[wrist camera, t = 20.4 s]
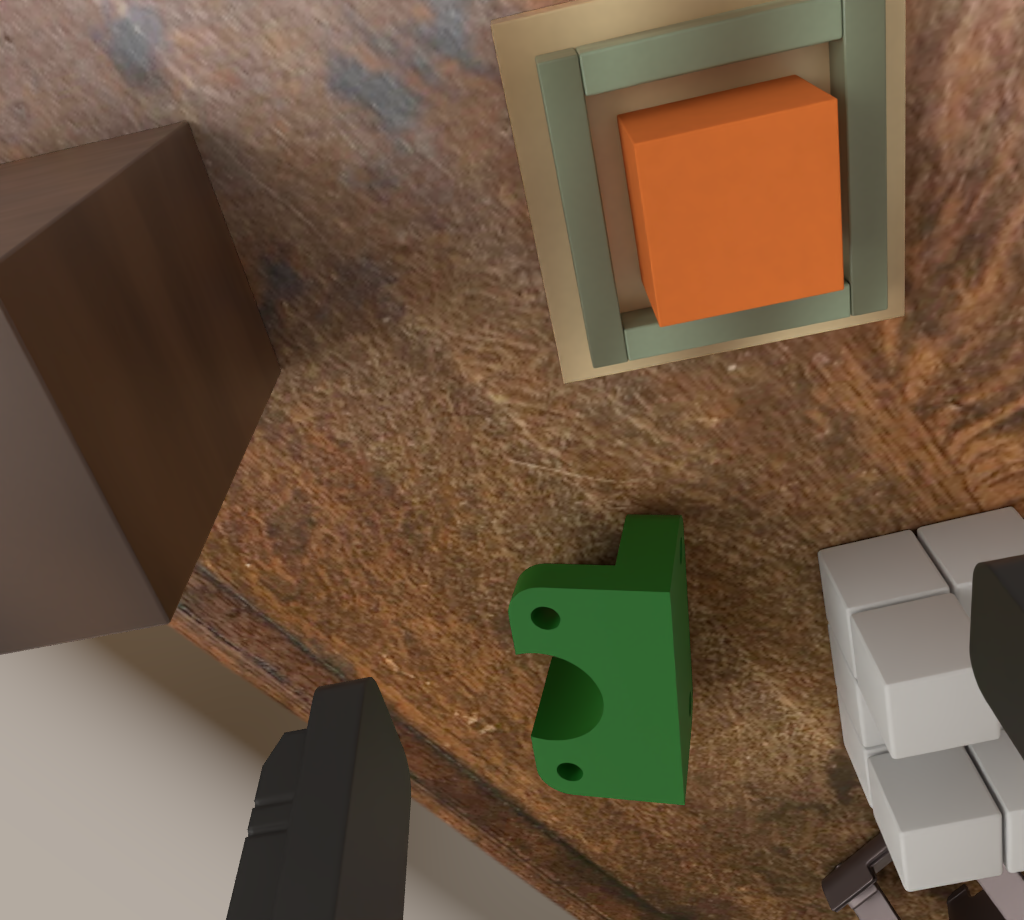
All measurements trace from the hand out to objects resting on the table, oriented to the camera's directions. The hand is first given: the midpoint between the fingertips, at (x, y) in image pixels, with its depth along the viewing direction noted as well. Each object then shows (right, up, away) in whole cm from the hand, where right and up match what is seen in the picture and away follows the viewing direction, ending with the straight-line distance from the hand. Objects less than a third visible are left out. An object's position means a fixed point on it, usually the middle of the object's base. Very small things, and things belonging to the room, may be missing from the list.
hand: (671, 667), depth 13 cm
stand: (-16, +9, +20) cm, 27 cm away
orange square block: (+4, +12, +17) cm, 21 cm away
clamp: (+2, -4, +28) cm, 28 cm away
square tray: (+4, +12, +18) cm, 23 cm away
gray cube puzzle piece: (+18, -4, +29) cm, 34 cm away
